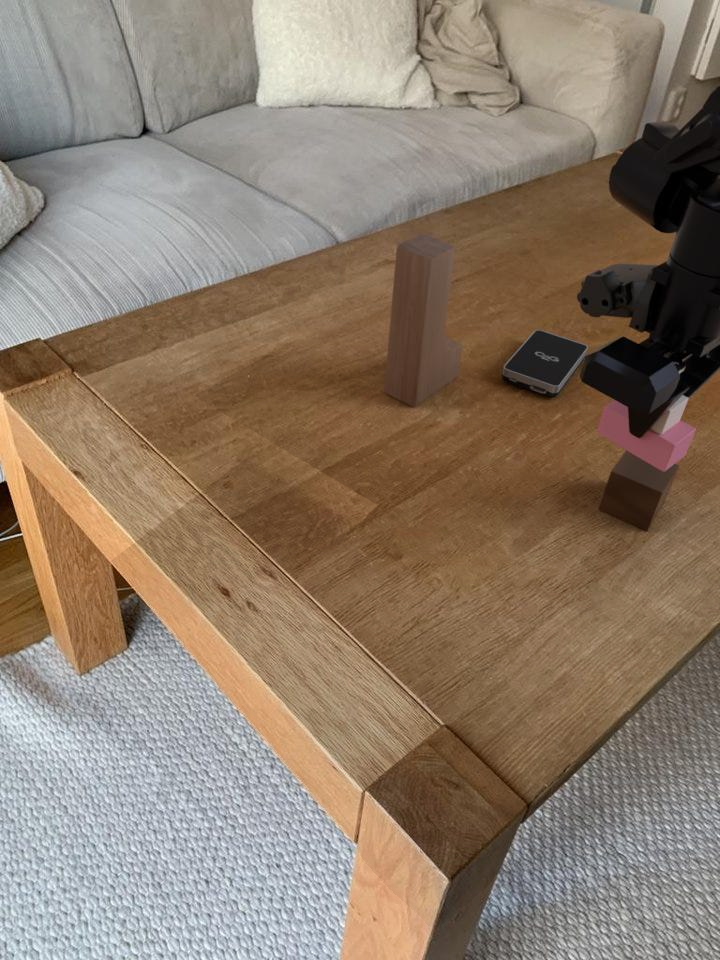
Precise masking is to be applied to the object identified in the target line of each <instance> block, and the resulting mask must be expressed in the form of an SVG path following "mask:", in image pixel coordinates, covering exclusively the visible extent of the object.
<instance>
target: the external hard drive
mask: <svg viewBox="0 0 720 960" xmlns="http://www.w3.org/2000/svg"><path fill="white" fill-rule="evenodd" d="M588 350H589V346H588V345H587V344H584V343H581V342H579V341H575V340H573V339H569V338H567V337H563V336H560V335H558V334H554V333H551V332H548V331H544V330H541V329H535V330H534V331H533V332H532V333H531V334H530V335H529V337H528V338H527V339H526V340H525V341H524V342H523V343H522V344H521V345H520V347H519V348H518V349H517V350H516V351H515V352H514V353H513V355H512V356H511V357H510V358H509V359H508V360H507V362H506V363H505V364H503V368H502V374H501V378H502V380H503V381H504V382H505V383H509V384H512V385H515V386H517V387H521V388H523V389H526V390H529V391H531V392H535V393H537V394H540V395H543V396H545V397H547V398H553V399H554V398H557V396H558V395H559V394H560V392H561V391H562V390H563V388H564V387H565V386H566V384H567V383H568V382H569V380H570V379H571V378H572V377H573V376H574V374H575V372H576V371H577V369H578V368H580V366H581V364H583V362H584V360H585V356H586V355H588Z"/></svg>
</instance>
